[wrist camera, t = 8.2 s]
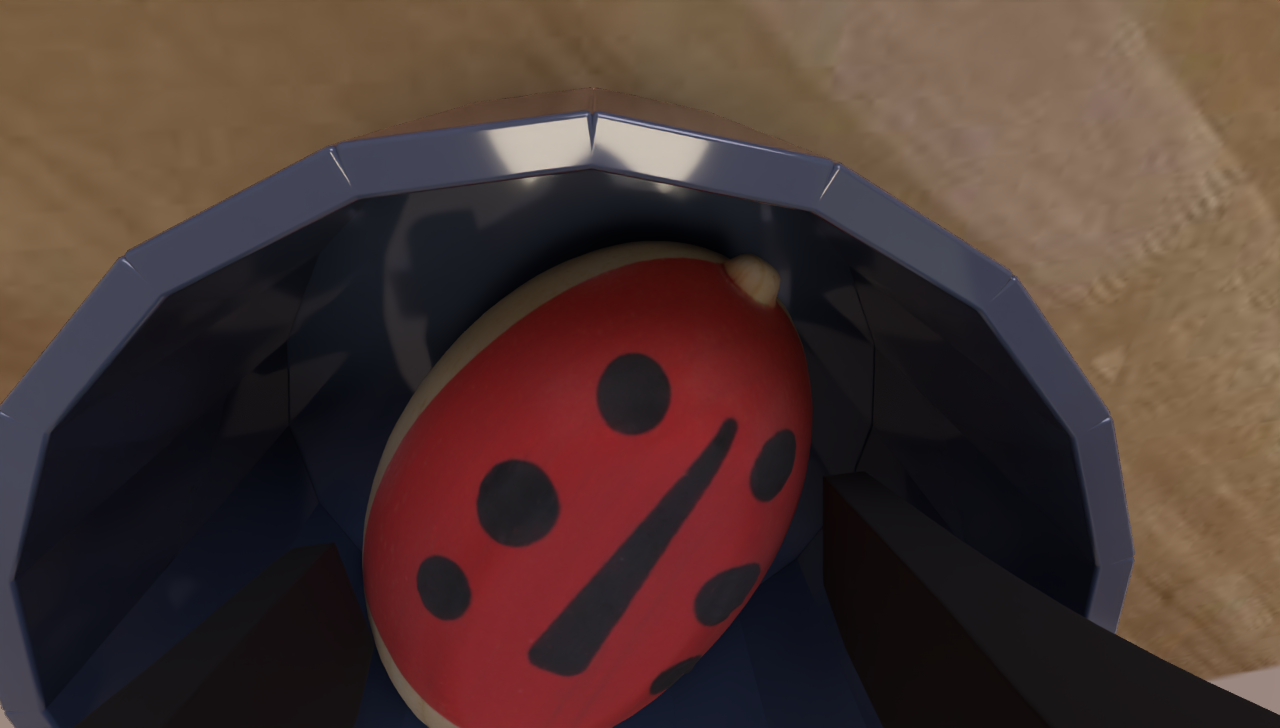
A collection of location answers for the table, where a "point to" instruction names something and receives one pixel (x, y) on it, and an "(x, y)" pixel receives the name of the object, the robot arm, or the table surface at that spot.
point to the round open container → (440, 313)
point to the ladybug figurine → (587, 489)
